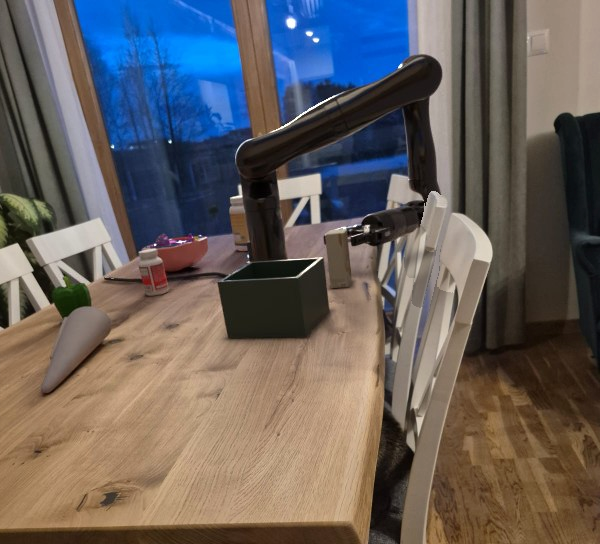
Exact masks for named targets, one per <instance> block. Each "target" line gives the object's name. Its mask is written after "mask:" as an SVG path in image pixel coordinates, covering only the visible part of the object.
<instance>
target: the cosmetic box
mask: <svg viewBox="0 0 600 544" xmlns="http://www.w3.org/2000/svg"><path fill="white" fill-rule="evenodd" d="M324 235H325V239H326V245H325V247H326V249H325V250H326V256H327V257H326V258H327V267H328V276H329V285H330V289H340V288H349V287H350V285H351V284H352V282H353V279H352V278H353V277H352V270H351V259H350V248H349V242H348V239H349V237H348V235H347V229H340V230H334V229H330V230H328V231H327V232H326V233H325V234H324Z"/></svg>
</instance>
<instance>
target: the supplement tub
mask: <svg viewBox="0 0 600 544" xmlns="http://www.w3.org/2000/svg"><path fill="white" fill-rule="evenodd" d="M229 201H230V202H229V203H230V204H231V206H230V207H229V211H228V213H229V218H230V225H231V230H232V237H233V243H234V247H235V249H236V250H237V251H239V252H248V250H247V242H249V237H248V230H247V224H246V218H245V212H244V206H243V198H242V194H241V195H236V196H232V197H229Z"/></svg>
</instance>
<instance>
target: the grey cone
mask: <svg viewBox="0 0 600 544" xmlns="http://www.w3.org/2000/svg"><path fill="white" fill-rule="evenodd" d="M112 327H113V326H112V321H111V318H110V317H109V315H108V314H107V313H106V312H105V311H103V310H102V309H100V308H98V307H94V306H92V307H81V308H78V309H76V310H74V311H73V312H72V313H71V314H70V315H69V316H68V317H64V319H63V320H62V323H61V325H60V328H59V331H58V333H57V336H56V339H55V341H54V345H53V347H52V350H51V352H50V355H49V360H50V362H49V365H48V367H47V370H46V372H45V375H44V377H43V379H42V381H41V384H40V390H41V392H42V393H43V394H48V393H50V392H52V391H53V390H54V389H56V387H58V386H59V385H60V384H61V383H62V382H63V381H64V380H65V379H67V377H68V376H69V375H70V374H71V373H72V372H73V371H74V370H75V369H76V368H77V367H78V366H79V365H80V364H81V363H82V362H83V361H84V360H85V359H86V358H87V357H88V356H89V355H90V354H91V353H92V352H93V351H94V350H95V349H96V348H97V347H98V346H100V344H101V343H102V342H103V341H104V340H105V339H106V338H107V337H108V336H109V335H110V333H111V331H112Z"/></svg>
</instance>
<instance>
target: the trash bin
mask: <svg viewBox="0 0 600 544" xmlns="http://www.w3.org/2000/svg"><path fill="white" fill-rule="evenodd" d="M244 265H245V266H244ZM244 265H242V266H243V267H242V266H240V267H241V268H240V267H239V268H240V269H238V268H237V269H238V270H237V269H236V270H234V271H233V272H231V273H229V274H230V275H228V276H226V277H222V279H220V280H218V281H217V287H218V294H219V299H220V304H221V311H222V314H223V320H224V326H225V329H226V336H227V339H274V338H275V339H277V338H278V339H279V338H281V339H282V338H285V339H286V338H287V339H288V338H307V337H308V336H309V334H310V333H311V332H312V331H313V330H314V329H315V328H316V327H317V326H318V325H319V323H320V322H321V320H323V319H324V317H325V316H326V315H327V314H328V313H329V312H330V303H329V294H328V283H327V278H326V266H325V257H309V258H307V257H306V258H292V259H289V258H288V260H273V261H257V262H250V263H248V264H246V263H245V264H244Z"/></svg>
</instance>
